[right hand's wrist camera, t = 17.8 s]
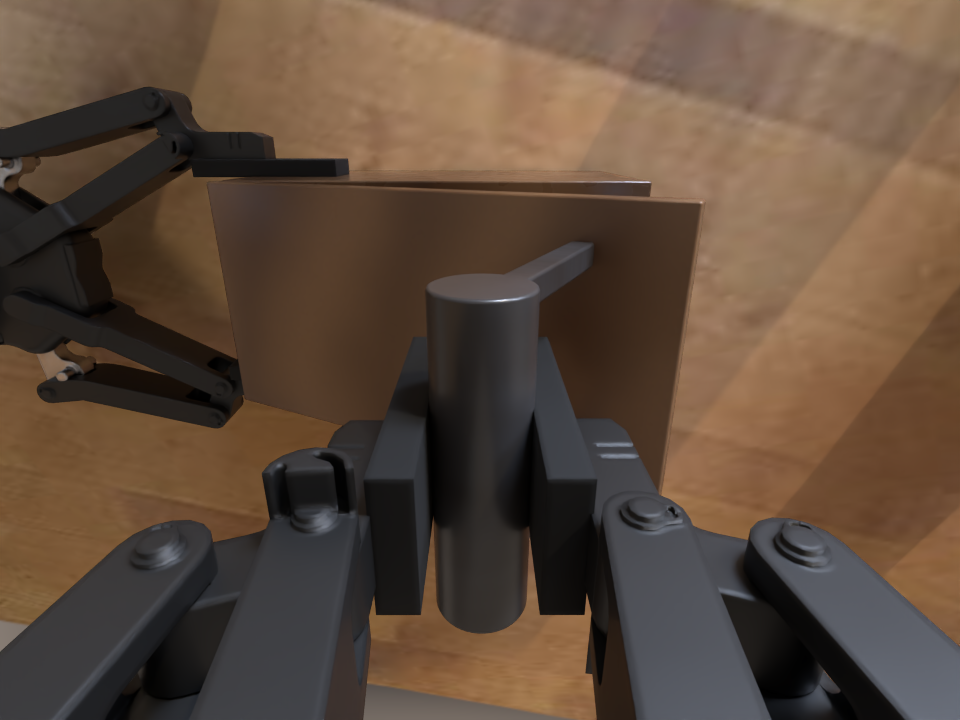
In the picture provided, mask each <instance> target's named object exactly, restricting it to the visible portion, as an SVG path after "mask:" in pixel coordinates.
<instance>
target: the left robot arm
mask: <svg viewBox="0 0 960 720" xmlns="http://www.w3.org/2000/svg"><path fill="white" fill-rule="evenodd" d="M153 128H157V130H158V132H157V135H161V137H159V138H158V139H156V140H155V141H153V142H151V143H150V144H148V145H147V146H145V147H144V148H142V149H141V150H139V151H138V152H136V153H134V154H133V155H131V156H130V157H128V158H127V159H125V160H124V161H122V162H121V163H119V164H118V165H116V166H114V167H113V168H111V169H110V170H108V171H107V172H105V173H104V174H102V175H101V176H99V177H97V178H96V179H94V180H93V181H91V182H90V183H88V184H87V185H85V186H84V187H82V188H80V189H79V190H77V191H76V192H74V193H73V194H71V195H70V196H68V197H67V198H65V199H63V200H61V201H59V202H56V203H53V204H51V205H49V204H48V203H46V202H44V201H43V200H41V199H40V198H38V197H36V196H35V195H33V194H31V193H30V192H28V191H27V190H25V189H23V188H21V187H19V184H18V182H19V178H20V177H21V176H22V175H24V174H28V173H32V172H33V171H34V170H35V169H36V167H37V166H39V165H40V164H41V160H40V158H39V157H50V156H59V155H64V154H68V153H71V152H74V151H78V150H81V149H85V148H88V147H92V146H95V145H98V144H102V143H105V142H109V141H112V140H116V139H119V138H123V137H126V136H129V135H133V134H136V133H140V132H143V131H147V130H150V129H153ZM191 168H192V171H193V177H338V176H343V175H348V174H349V165H348V159H276V157H275V149H274V141H273V137H271V136H268V135H266V134H263V133H256V132H207V131H205V130H203V129H202V128H201V127H200V126H199V125H198V124H197V122H196V121H195V119H194V117H193V115H192V105H191V102H190V100H189V99H188V97H186V96H185V95H184V94H182V93H179V92H175V91H169V90H164V89H159V88H154V87H144V88H140V89H137V90H133V91H130V92H127V93H123V94H120V95H117V96H113V97H110V98H107V99H103V100H100V101H97V102H93V103H90V104H87V105H83V106H80V107H77V108H73V109H70V110H66V111H63V112H60V113H56V114H53V115H50V116H46V117H43V118H40V119H36V120H33V121H30V122H26V123H23V124H20V125H16V126H13V127H0V345H11V346H15V347H18V348H20V349H23V350H25V351H27V352H30V353H35V354H37V357H38V359H39V361H40V364H41V366H42V368H43V371H44V373H45V375H46V378H47V380H46V381H45V382H43V383H41V384H40V385H39V386H38V387H37V393H38V395H39V397H40V398H41V399H42V400H44V401H46V402H48V403H59V402H70V401H80V400H85V401H89V402H94V403H99V404H103V405H108V406H113V407H117V408H122V409H127V410H131V411H136V412H141V413H146V414H150V415H155V416H160V417H164V418H169V419H174V420H178V421H183V422H188V423H192V424H197V425H202V426H206V427H211V428H221V427H223V426H224V425H225V424H226V423H227V421H228V420H229V419H230V418H231V417H232V416H233V415H234V414H235V413H236V412H237V410H238V409H239V408H240V407H241V406H242V405H243V402H244V400H243V397H242V395H244V390H243V385H242V379H241V374H240V368H239V362H238V359H234V358H232V357H230V356H228V355H226V354H223V353H221V352H219V351H217V350H215V349H212V348H210V347H208V346H206V345H204V344H201V343H199V342H197V341H195V340H193V339H190V338H188V337H186V336H184V335H182V334H179V333H177V332H175V331H173V330H171V329H168V328H166V327H164V326H162V325H160V324H157V323H155V322H153V321H151V320H149V319H146V318H144V317H142V316H140V315H138V314H136V313H135V309H134V308H133V307H131V306H129V305H127V304H124V303H122V302H120V301H118V300H116V299H113V298H111V297H114V296H113V292H112V289H111V285H110V282H109V280H108V278H107V276H106V274H105V272H104V270H103V268H102V250H101V246H100V242H99V238H93V237H92V235H91V233H93V232H95V231H96V230H98V229H99V228H101V227H103V226H104V225H106V224H107V223H109V222H110V221H112V220H113V217H114V216H116V215H118V214H119V213H121V212H122V211H124V210H125V209H127V208H129V207H130V206H132V205H133V204H135V203H137V202H138V201H140V200H141V199H143V198H145V197H146V196H148V195H149V194H151V193H153V192H154V191H156V190H157V189H159V188H161V187H162V186H164V185H165V184H167V183H168V182H170V181H172V180H173V179H175V178H176V177H178V176H180V175H181V174H183V173H184V172H186V171H188V170H189V169H191ZM71 340H73V341H75V342H78V343H80V344H82V345H85V346H88V347H103V348H106V349H108V350H110V351H113V352H115V353H117V354H119V355H122V356H124V357H126V358H129V359H131V360H133V361H135V362H138V363H140V364H142V365H145V366H147V367H149V368H151V369H154V370H156V371H158V372H161V373H163V374H165V375H162V374H158V373H153V372H149V371H144V370H140V369H135V368H131V367H126V366H122V365H116V364H108V363H98V364H96V363H97V362H96V359H95V358H94V357H92V356H88V357H85V356H80V355H76V354H73V353H72V352H70V351H69V350H68V348H67V347H66V345H65V344H67V343H68V342H70V341H71Z"/></svg>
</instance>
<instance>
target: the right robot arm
mask: <svg viewBox="0 0 960 720" xmlns="http://www.w3.org/2000/svg"><path fill="white" fill-rule="evenodd" d="M262 478H263V483H264V489H265V494H266V500H267V506H268V511H269V517H270V521H269V523H268V525H267V528H266V529H265V530H262V531H260V532H256V533H253V534H249V535H246V536H241V537H236V538H232V539H227V540H222V541H218V542H213V539H212V535H211V531H210V530H209V529H208V528H207V527H206V526H205V525H204V524H202V523H199V522H195V521H191V520H180V521H170V522H165V523H162V524H161V523H160V524H157V525H154V526H151V527H149V528H147V529H144V530H142V531H140V532H138V533H136V534H134V535H132V536H131V537H129V538H128V539H127V540H125V541H124V542H122V543H121V544H119V545H118V546H117V547H116V548H115V549H114V550H112V551H111V552H110V553H109V554H108V555H107V556H106V557H105V558H104V559H102V560H101V561H100V562H99V563H98V564H97V565H96V566H95V567H94V568H92V569H91V570H90V571H89V572H88V573H87V574H86V575H85V576H84V577H83V578H81V579H80V580H79V581H78V582H77V583H76V584H75V585H74V586H73V587H71V588H70V589H69V590H68V591H67V592H66V593H65V594H64V595H63V596H61V597H60V598H59V599H58V600H57V601H56V602H55V603H54V604H53V605H51V606H50V607H49V608H48V609H47V610H46V611H45V612H44V613H43V614H42V615H40V616H39V617H38V618H37V619H36V620H35V621H34V622H33V623H32V624H30V625H29V626H28V627H27V628H26V629H25V630H24V631H23V632H22V633H20V634H19V635H18V636H17V637H16V638H15V639H14V640H13V641H12V642H10V643H9V644H8V645H7V646H6V647H5V648H4V649H3V650H2V651H1V652H0V720H363V715H364V705H365V695H366V685H367V675H368V665H369V655H370V645H371V634H370V625H369V614H370V609H371V605H372V601H373V597H375V608H376V615H421V608H422V600H423V593H424V585H425V577H426V569H427V561H428V553H429V545H430V537H431V529H432V521H433V490H432V463H431V436H430V409H429V382H428V355H427V337H413V339H412V342H411V345H410V348H409V351H408V353H407V356H406V359H405V362H404V365H403V368H402V370H401V373H400V376H399V379H398V382H397V385H396V388H395V390H394V393H393V396H392V399H391V402H390V405H389V407H388V410H387V413H386V416H385V419H384V420H350V421H349V422H347V423H346V424H345V425H343V426H342V427H341V428H339V429H338V430H337V431H335V432H334V434H333V436H332V438H331V440H330V442H329V444H328V448H317V447H316V448H309V449H302V450H298V451H295V452H292V453H289V454H286V455H283V456H281V457H280V458H278V459H277V460H275V461H273V462H272V463H270V464H269V465H268V466H267V468H266V469H265V470H264V471H263V472H262ZM529 532H530V540H531V548H532V556H533V564H534V572H535V580H536V587H537V595H538V603H539V611H540V615H585V604H586V594H587V595H588V600H589V604H590V608H591V612H592V615H591V625H590V634H589V644H588V654H587V664H586V673H587V674H593V684H594V694H595V704H596V714H597V720H960V647H959V646H958V645H957V644H956V643H955V642H954V641H952V640H951V639H950V638H949V637H948V636H947V635H946V634H945V633H944V632H942V631H941V630H940V629H939V628H938V627H937V626H936V625H935V624H933V623H932V622H931V621H930V620H929V619H928V618H927V617H926V616H925V615H923V614H922V613H921V612H920V611H919V610H918V609H917V608H916V607H914V606H913V605H912V604H911V603H910V602H909V601H908V600H907V599H906V598H904V597H903V596H902V595H901V594H900V593H899V592H898V591H897V590H895V589H894V588H893V587H892V586H891V585H890V584H889V583H888V582H887V581H885V580H884V579H883V578H882V577H881V576H880V575H879V574H878V573H876V572H875V571H874V570H873V569H872V568H871V567H870V566H869V565H868V564H866V563H865V562H864V561H863V560H862V559H861V558H860V557H859V556H857V555H856V554H855V553H854V552H853V551H852V550H851V549H850V548H849V547H847V546H846V545H845V544H844V543H843V542H841V541H840V540H838V539H837V538H836V537H834V536H833V535H831V534H830V533H828V532H827V531H824V530H822V529H820V528H818V527H816V526H813V525H811V524H809V523H806V522H802V521H798V520H793V519H789V518H769V519H765V520H761V521H758V522H757V523H756V524H755V525H754V526H753V527H752V528H751V530H750V534H749V538H748V540H744V539H740V538H735V537H730V536H726V535H721V534H716V533H712V532H709V531H705V530H702V529H699V528H697V527H695V526H693V525H692V522H691V520H690V518H689V517H688V515H687V514H686V512H685V511H684V509H683V508H682V507H680V506H679V505H677V504H676V503H675V502H673V501H672V500H670V499H668V498H665V497H663V496H660V495H659V493H658V491H657V489H656V487H655V485H654V483H653V482H652V480H651V478H650V476H649V474H648V472H647V470H646V468H645V466H644V464H643V462H642V460H641V458H639V454H638V452H637V450H636V448H635V447H633V443H632V441H631V439H630V437H629V435H628V433H627V431H626V430H625V429H624V428H622V427H621V426H620V425H618V424H617V423H616V422H614V421H613V420H612V419H610V418H576V417H575V414H574V411H573V408H572V406H571V403H570V400H569V397H568V394H567V391H566V388H565V386H564V383H563V380H562V377H561V374H560V371H559V369H558V366H557V363H556V360H555V357H554V354H553V352H552V349H551V346H550V343H549V340H548V337H538V351H537V374H536V397H535V408H534V411H533V435H532V459H531V483H530V507H529ZM824 670H825V672H826V673H827V674H828V675H829V677H830V678H831V679H832V680H833V681H832V680H831V679H830V678H829V677H828V675H827V674H826V673H825V672H824ZM134 676H135V677H134ZM130 681H131V682H130Z"/></svg>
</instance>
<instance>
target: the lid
mask: <svg viewBox="0 0 960 720" xmlns="http://www.w3.org/2000/svg"><path fill="white" fill-rule="evenodd" d="M207 187H208V193H209V199H210V204H211V210H212V216H213V221H214V227H215V233H216V238H217V244H218V249H219V255H220V261H221V266H222V272H223V278H224V283H225V289H226V295H227V300H228V306H229V312H230V317H231V323H232V328H233V334H234V340H235V345H236V351H237V357H238V362H239V368H240V374H241V379H242V385H243V390H244V396H245V399H246V400H250V401H254V402H258V403H261V404H265V405H269V406H272V407H276V408H280V409H283V410H287V411H291V412H295V413H298V414H302V415H306V416H309V417H313V418H317V419H321V420H324V421H328V422H332V423H335V424H339V425H345V424H346V423H347V422H349V421H350V420H384V419H385V416H386V413H387V410H388V407H389V405H390V402H391V399H392V396H393V393H394V390H395V388H396V385H397V382H398V379H399V376H400V373H401V370H402V368H403V365H404V362H405V359H406V356H407V353H408V351H409V348H410V345H411V342H412V339H413V337H427V355H428V382H429V409H430V436H431V463H432V490H433V517H434V544H435V572H436V598H437V605H438V608H439V610H440V612H441V613H442V615H443V616H444V617H445V619H446V620H447V621H448V622H449V623H451V624H452V625H454V626H455V627H457V628H459V629H461V630H464V631H467V632H471V633H492V632H497V631H500V630H502V629H504V628H507V627H508V626H510V625H511V624H513V623H514V622H515V621H516V620H517V619H518V618H519V617H520V615H521V614H522V612H523V610H524V608H525V605H526V600H527V578H528V555H529V538H530V532H529V507H530V483H531V459H532V435H533V411H534V408H535V397H536V374H537V351H538V337H548V340H549V343H550V346H551V349H552V352H553V354H554V357H555V360H556V363H557V366H558V369H559V371H560V374H561V377H562V380H563V383H564V386H565V388H566V391H567V394H568V397H569V400H570V403H571V406H572V408H573V411H574V414H575V417H576V418H610V419H612V420H613V421H614V422H616V423H617V424H618V425H620V426H621V427H622V428H624V429H625V430H626V431H627V433H628V435H629V437H630V439H631V441H632V443H633V447H635V448H636V450H637V452H638V454H639V458H641V460H642V462H643V464H644V466H645V468H646V470H647V472H648V474H649V476H650V478H651V480H652V482H653V483H654V485H655V487H656V489H657V491H658V493H659V495H660V496H661V494H662V487H663V480H664V474H665V467H666V461H667V454H668V447H669V441H670V434H671V428H672V421H673V414H674V408H675V401H676V395H677V388H678V381H679V375H680V368H681V361H682V355H683V348H684V342H685V335H686V328H687V322H688V315H689V309H690V302H691V295H692V289H693V282H694V276H695V269H696V262H697V256H698V249H699V242H700V236H701V229H702V223H703V216H704V209H705V203H706V202H705V200H704V199H691V198H665V197H639V196H612V195H586V194H559V193H533V192H507V191H480V190H454V189H428V188H401V187H375V186H348V185H322V184H296V183H269V182H243V181H212V182H207Z"/></svg>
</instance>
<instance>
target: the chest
mask: <svg viewBox="0 0 960 720" xmlns="http://www.w3.org/2000/svg"><path fill="white" fill-rule="evenodd" d="M223 181H243V182H269V183H296V184H322V185H348V186H375V187H401V188H428V189H454V190H480V191H507V192H533V193H559V194H586V195H612V196H639V197H650V191H651V182H650V181H645V180H640V179H636V178H631V177H626V176H621V175H616V174H611V173H606V172H601V171H349V174H348V175H343V176H338V177H247V178H239V179H230V180H223Z"/></svg>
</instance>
